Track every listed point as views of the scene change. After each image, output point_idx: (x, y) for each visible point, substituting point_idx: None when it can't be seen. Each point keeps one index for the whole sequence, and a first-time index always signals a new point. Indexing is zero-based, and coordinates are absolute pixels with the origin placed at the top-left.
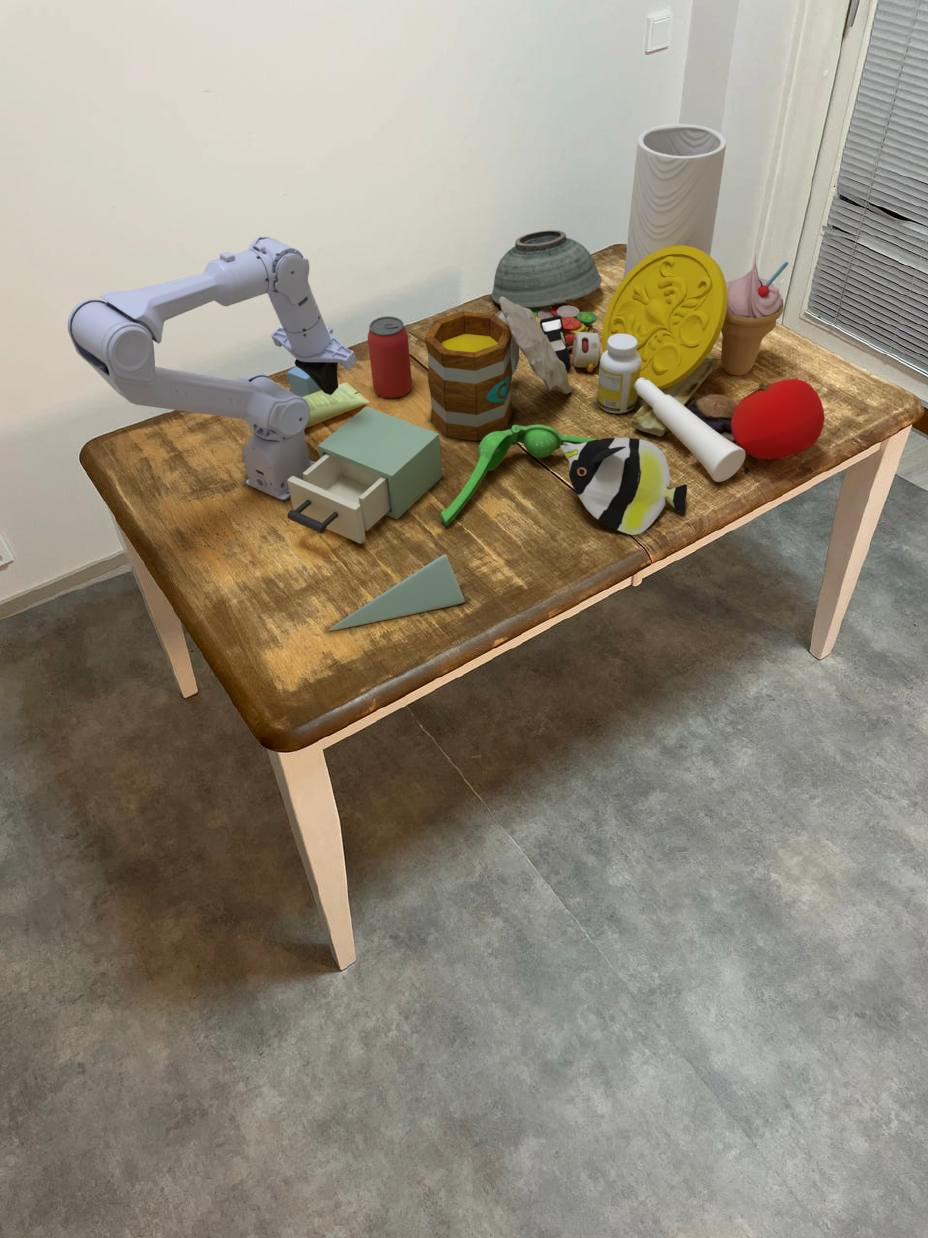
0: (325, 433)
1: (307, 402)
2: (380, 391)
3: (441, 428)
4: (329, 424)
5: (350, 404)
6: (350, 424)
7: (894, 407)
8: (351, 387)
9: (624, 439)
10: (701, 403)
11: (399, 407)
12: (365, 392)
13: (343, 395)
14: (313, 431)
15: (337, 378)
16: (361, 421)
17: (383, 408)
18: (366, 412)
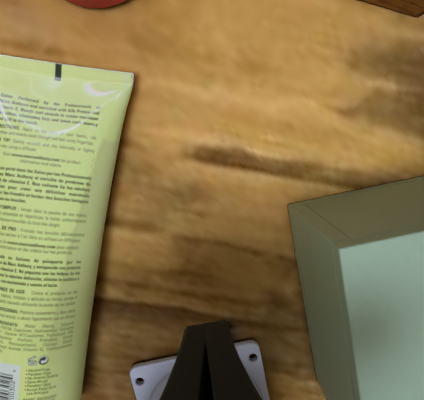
0: (136, 246)
1: (41, 272)
2: (106, 2)
3: (396, 3)
4: (109, 213)
5: (113, 141)
6: (379, 363)
7: None
8: (18, 60)
9: None
10: None
11: (194, 5)
12: (47, 24)
13: (65, 134)
14: (104, 263)
15: (236, 350)
16: (399, 325)
17: (161, 45)
18: (371, 276)
